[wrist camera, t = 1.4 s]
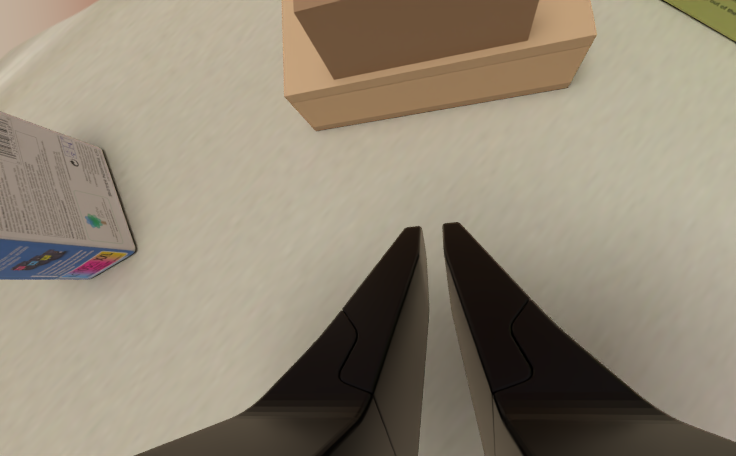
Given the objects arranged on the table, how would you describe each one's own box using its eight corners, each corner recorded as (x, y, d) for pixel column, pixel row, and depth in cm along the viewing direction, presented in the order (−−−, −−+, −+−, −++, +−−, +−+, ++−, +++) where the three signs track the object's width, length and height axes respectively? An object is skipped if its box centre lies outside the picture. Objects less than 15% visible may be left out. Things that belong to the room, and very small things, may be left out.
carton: (548, -23, 23) (566, -84, 19) (567, 87, 22) (590, 46, 18) (311, 33, 27) (287, -9, 23) (315, 131, 25) (290, 103, 22)
